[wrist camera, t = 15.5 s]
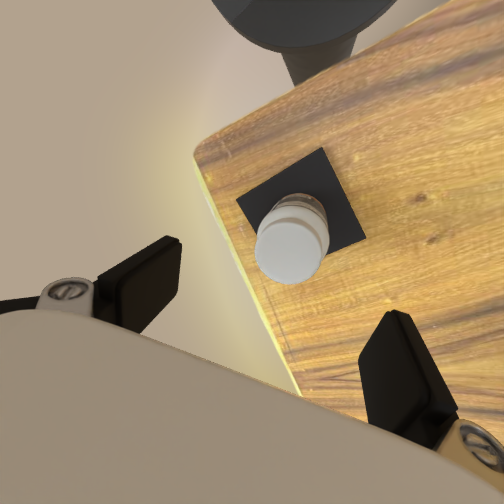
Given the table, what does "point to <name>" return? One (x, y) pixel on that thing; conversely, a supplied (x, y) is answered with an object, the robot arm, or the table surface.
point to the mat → (311, 183)
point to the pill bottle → (292, 239)
